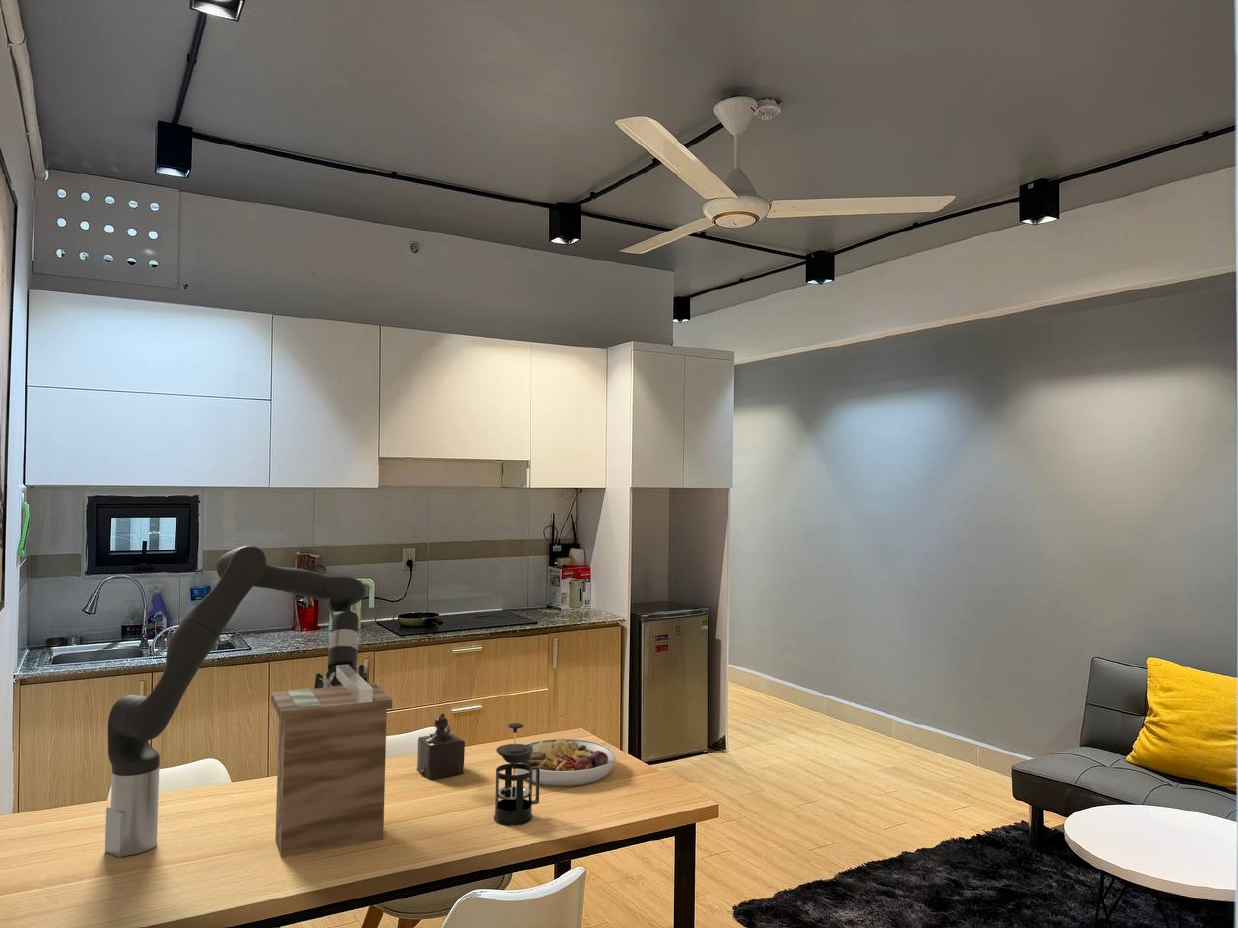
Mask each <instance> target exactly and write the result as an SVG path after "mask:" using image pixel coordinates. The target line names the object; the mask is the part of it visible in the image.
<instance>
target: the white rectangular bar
mask: <svg viewBox="0 0 1238 928" xmlns="http://www.w3.org/2000/svg"><path fill="white" fill-rule="evenodd" d="M336 678H337V679H338V680H339V681H340V682H341V683H342V685H343V686H344V687H345V688H346V689H347V690H348V691H349V692H350V693H351V695H352V696H353V697H354V698H355V699H356V700H357V701H358V702H359V703H365V702H373V688H372V687H371V686H370V685H369V683H367V682H366V681H365V680H364V679H363V678H362V677H361V676H360V675H359V674H358V672H356V671H355V670H354V669H352V668H351V667H350V666H349V665H339V666H336Z"/></svg>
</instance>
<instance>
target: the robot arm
mask: <svg viewBox="0 0 1238 928" xmlns="http://www.w3.org/2000/svg"><path fill="white" fill-rule="evenodd" d="M216 573H217V575H218V577H219V578H220V579H219V581H218V582H217V583H216V585H215V586H214V587H213V588H212V590H210V592H209V593H208V594H207V595H205V597H203V598H202V599H201V600H200V601H199V602H198V603H197V604H196V605H195V606H194V607H193V608H192V609H191V610H190V611H189V612H188V613H187V614H186V615H185V617H184V618H183V619H182V620H181V622H180V624H178V626H177V627H176V629H175V630H174V633H173V634H172V635H171V637H170V639H169V641H168V644H167V649H166V657H165V658H166V659H165V665H164V667H165V668H164V670H163V673H162V675H161V677H160V679H159V681H158V682H157V684H156V685H155V687H154V688H153V690H151V692H150V694H148V696H145V695H139V694H127V695H125V696H122V697H120V698H119V699H118V700H116V702H115V703H114V704H113V705H112V707H111V709H110V712H109V715H108V719H107V720H108V721H107V754H108V760H109V762H110V764H111V785H110V786H111V787H110V788H111V789H110V806H107V807H106V810H105V830H104V831H105V832H104V833H105V834H104V836H105V837H104V852H106V853H107V854H111V855H113V856H115V857H117V858H122V857H126V856H134V855H137V854H141V853H145V852H148V851H149V850H151V849H153V848H154V847H155V846H157V844H158V823H159V822H158V821H159V799H160V798H159V794H160V792H159V791H160V771H161V770H160V762H161V761H160V760H161V757H160V756H161V755H160V753H159V752H158V751H157V750H156V749H155V748H153V746H152V745H151V743H150V741H152V740H154V739H155V738H157V737H159V736H160V735H161V734H162V733H163V731H165V729H166V728H167V726H168V725H169V723H170V722H171V720H172V717H173V716H174V714H175V712H176V710H177V708H178V705H179V704H180V702H181V700H182V698H183V696H184V694H185V692H186V691H187V688H189V685H190V684H191V682H192V680H193V679H194V677H195V676H196V674H197V672H198V670H199V669H200V668H201V666H202V664H203V663H204V661H205V659H206V658H207V657H208V656H209V654H210V653H211V651H212V649H213V648H214V646H215V645H216V643H217V642H218V640H219V639H220V638H221V635H222V633H223V632H224V630H225V628H226V627H227V625H228V624H229V622H230V621H231V619H232V618H233V615H234V614H235V613H236V611H237V609H238V607H239V606H240V604H241V603H242V601H243V600H244V598H245V597H246V596H247V595H248V593H250V591H251V590H252V589H253V587H256V588H263V589H269V590H275V591H280V592H284V593H289V594H294V595H297V596H299V597H300V596H301V597H303V598H304V597H306V598H309V599H313V600H317V601H324V600H328V606H329V612H330V618H331V630H330V631H331V632H330V636H329V643H328V653H327V654H328V655H327V671H326V673H323V674H321V673H316V675H315V681H314V685H313V686H314V687H313V689H316V688H327V687H337V686H343V685H342V683H341V682H340V681H339V680H338V679H337V678H336V666H339V665H349V666H350V667H351V668H352V669H354V670H355V671H356V672H357V673H358V674H359V675H360V676H361V677H362V678H363V679H364V680H365V681H366V682H367V683H368V682H369V678H368V676H369V675H368V674H369V673H368V671H369V670H368V667H366V666H365V665H363V664H360V665H359V666H358V667H357V665H358V651H359V650H358V649H359V637H358V636H359V617H358V614H357V613H356V612H354V611H351V610H352V606H355V605H356V604H357V603H359V602H360V601H362V600H363V599H364V598H365V597H366V587H365V585H364V583H363V582H362V581H360V580H359V579H357V578H355V577H351V576H342V575H326V574H323V573H320V572H316V571H312V570H308V569H302V568H297V567H295V568H294V567H284V566H283V567H282V566H277V565H270V564H267V558H266V554H265V553H264V551H263V550H262V549H261V548H259V547H258V546H255V545H244V546H241V547H237V548H235V549H232V550H230V551H228V552H225V553H224V554H223V555H222V556H221V557H220V558H219V560H218V561H217V564H216ZM368 684H369V683H368Z"/></svg>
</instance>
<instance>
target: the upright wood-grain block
mask: <svg viewBox="0 0 1238 928" xmlns="http://www.w3.org/2000/svg"><path fill="white" fill-rule="evenodd" d="M368 684H369V685H370V686H371V687H372V688H373V702H365V703H359V702H358V701H357V700H356V699H355V698H354V697H353V696H352V695H351V693H350V692H349V691H348V690H347V689H346V688H345V687H344V686H337V687H331V686H330V687H327V688H324V687H323V688H316V689H314V688H299V689H289V690H286V691H275V692H271V698H270V702H271V704H272V706H273V709H274V710H275V712H276V714H277V716H278V739H277V741H278V742H277V744H278V745H277V747H278V748H277V773H276V774H277V777H276V808H275V809H276V810H275V811H276V812H275V840H274V841H275V843H276V846H277V849H278V852H279V856H280V858H281V859H282V857H283V858H288V857H287V856H289V857H292V856H293V855H294V856H298V855H303V854H310V853H315V852H320V851H325V850H332V849H337V848H341V847H347V846H354V845H358V844H363V843H369V842H374V841H380V840H384V826H385V825H384V824H385V820H384V819H385V791H386V788H385V785H386V784H385V783H386V756H387V754H386V753H387V752H386V751H387V750H386V748H387V747H386V746H387V745H386V743H387V717H388V716H387V714H388V712H387V711H388V709H389V710H390V709H392V708H393V699H392V697H390V696H389V695H388V694H387V693H386V692H385V691H384V690H383V689H382V688H381V687H380V686H378V685H377V683H376V682H371V683H368Z"/></svg>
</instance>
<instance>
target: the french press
mask: <svg viewBox="0 0 1238 928" xmlns="http://www.w3.org/2000/svg"><path fill="white" fill-rule="evenodd" d="M523 727H525V725H524V724H523V723H519V722H512V723H509V724H507V725H506V728H509V729H512V731H513V733H514V735H513V739H514V740H513V743H509V744H504V745H500V746H498V747H497V748H496V753H497V754H498V755H499V756H501V758H503V760H504V761H505V762H506V763H505V764H500V765H499V766H497V767H496V768H495V795H494V797H495V802H494V803H495V806H494V815H493V820H494V822H495V823H497V824H499V825H502V826H508V827H515V826H521V825H525V824H526V825H527V824H528V823H530V822H531V821H532V820H533V814H532V811H533V810H532V809H533V808H532V806H533V805H538V804H539V802H540V784H539V775H540V769H539V768H538V767H537V766H533V767H531V766H529V765H526V764H520V763H522V762H526V761H528V760H530V759H531V752H532V751H533V748H532V747H531V746H528V745H524V743H517V741H516V740H517V739H516V738H517V737H516V736H517V732H518V729H522V728H523ZM515 769H524V770H527V771H529V772H528V773H526V774H522V775H519V774H516V771H515ZM532 770H536V783H535V799H534V800H532V799H533V798H532V797H533V794H532V792H533V790H532V789H533V782H532ZM502 771H504V773H500V772H502ZM528 778H529V780H528V787H526V786H524V781H525V780H527V779H528ZM499 780H502V781H504V787H501V788H499V787H500V786H499V785H500V783H499V782H500V781H499ZM512 783H513V784H512ZM515 783H516V784H515ZM527 798H528V799H527ZM499 799H501V800H499Z"/></svg>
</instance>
